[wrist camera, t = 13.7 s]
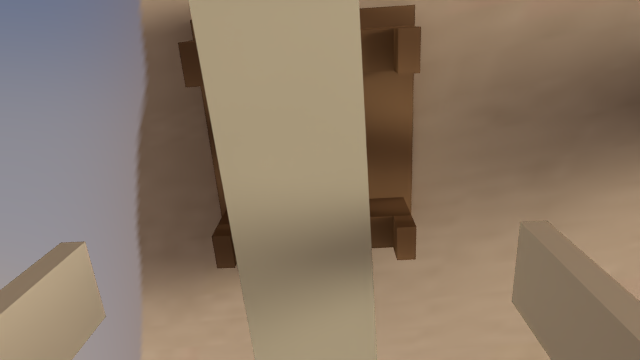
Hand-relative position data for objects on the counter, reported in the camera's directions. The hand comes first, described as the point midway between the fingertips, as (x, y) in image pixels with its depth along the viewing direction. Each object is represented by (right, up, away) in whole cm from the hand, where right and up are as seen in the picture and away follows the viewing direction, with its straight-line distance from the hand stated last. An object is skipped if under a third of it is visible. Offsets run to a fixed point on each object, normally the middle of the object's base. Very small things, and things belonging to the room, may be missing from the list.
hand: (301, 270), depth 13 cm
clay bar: (0, +4, +9) cm, 10 cm away
